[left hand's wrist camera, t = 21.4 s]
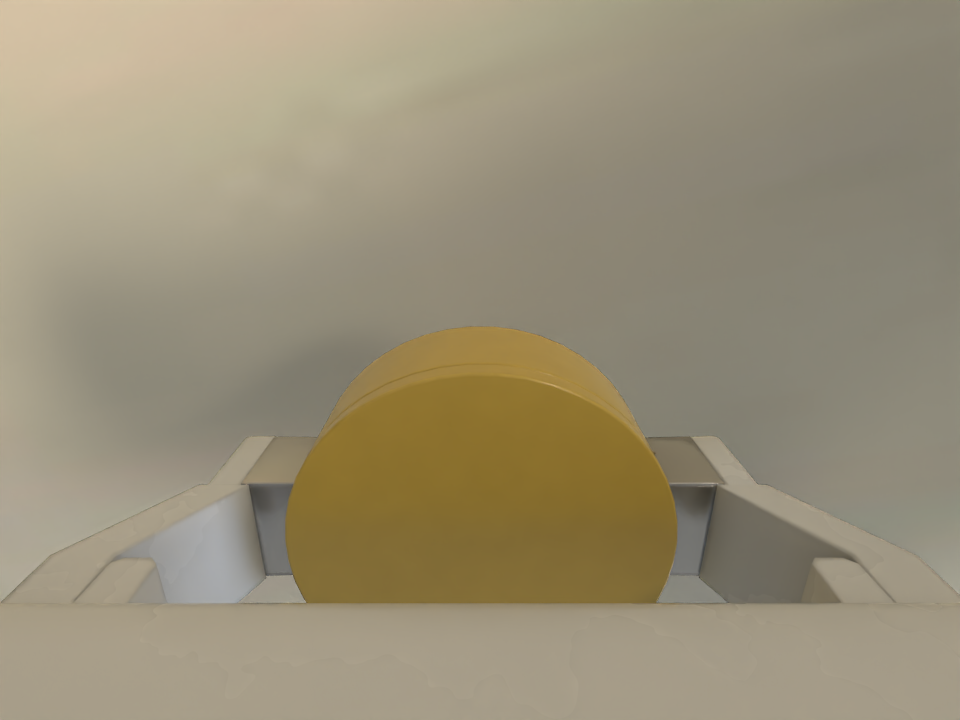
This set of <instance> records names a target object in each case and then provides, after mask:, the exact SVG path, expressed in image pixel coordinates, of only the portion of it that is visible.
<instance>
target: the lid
mask: <svg viewBox="0 0 960 720" xmlns="http://www.w3.org/2000/svg"><path fill="white" fill-rule="evenodd" d="M285 543H286V549H287V555H288V561H289V564H290V567H291V570H292V573H293V576H294V579H295V582H296V584H297V586H298V588H299V590H300V592H301V594H302V596H303V598H304V600H305V601H306V602H307V603H656V602H657V601H658V599H659V597H660V595H661V593H662V591H663V589H664V587H665V585H666V583H667V581H668V578H669V575H670V572H671V569H672V566H673V563H674V558H675V552H676V546H677V515H676V508H675V502H674V498H673V495H672V492H671V489H670V486H669V483H668V480H667V478H666V476H665V474H664V472H663V470H662V468H661V466H660V464H659V462H658V460H657V458H656V457H655V455H654V453H653V451H652V449H651V448H650V446H649V444H648V442H647V440H646V439H645V437H644V435H643V433H642V432H641V430H640V428H639V426H638V424H637V423H636V421H635V419H634V417H633V415H632V414H631V412H630V410H629V408H628V406H627V405H626V403H625V401H624V399H623V398H622V397H621V395H620V394H619V392H618V391H617V390H616V388H615V387H614V386H613V384H612V383H611V382H610V381H609V380H608V379H607V378H606V377H605V376H604V375H603V374H602V373H601V372H600V371H599V370H598V369H597V368H596V367H595V366H594V365H592V364H591V363H590V362H588V361H587V360H586V359H584V358H583V357H582V356H580V355H579V354H577V353H575V352H574V351H572V350H570V349H568V348H567V347H565V346H563V345H561V344H559V343H557V342H554V341H552V340H549V339H547V338H544V337H542V336H539V335H535V334H532V333H528V332H524V331H520V330H516V329H508V328H500V327H462V328H454V329H446V330H442V331H438V332H434V333H430V334H426V335H423V336H421V337H418V338H416V339H413V340H410V341H408V342H405V343H403V344H401V345H399V346H398V347H396V348H394V349H392V350H390V351H389V352H387V353H385V354H383V355H382V356H381V357H379V358H378V359H377V360H375V361H374V362H373V363H371V364H370V365H369V366H367V367H366V368H365V369H364V370H363V371H362V372H361V373H360V374H359V375H358V376H357V377H356V378H355V379H354V380H353V381H352V382H351V383H350V385H349V386H348V387H347V389H346V390H345V391H344V393H343V394H342V395H341V397H340V398H339V400H338V402H337V404H336V405H335V407H334V409H333V411H332V413H331V414H330V416H329V418H328V420H327V422H326V423H325V425H324V427H323V429H322V431H321V432H320V434H319V436H318V438H317V439H316V441H315V443H314V445H313V447H312V448H311V450H310V452H309V454H308V456H307V457H306V459H305V461H304V463H303V465H302V467H301V469H300V470H299V472H298V474H297V476H296V478H295V481H294V484H293V487H292V490H291V493H290V496H289V499H288V505H287V511H286V517H285Z"/></svg>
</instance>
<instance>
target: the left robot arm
mask: <svg viewBox="0 0 960 720" xmlns="http://www.w3.org/2000/svg"><path fill="white" fill-rule="evenodd" d="M317 438H318V437H282V436H279V437H276V436H252V437H246V438H245V440H244V441H243V442H242V443H241V444H240V446H239V447H238V448H237V449H236V451H235V452H234V453H233V454H232V456H231V457H230V458H229V459H228V460H227V462H226V463H225V464H224V465H223V467H222V468H221V469H220V470H219V472H218V473H217V474H216V475H215V476H214V478H213V479H212V480H211V481H210V483H209V484H208V485H197V486H195V487H193V488H191V489H189V490H187V491H185V492H182V493H180V494H178V495H176V496H174V497H172V498H170V499H168V500H166V501H164V502H161V503H159V504H157V505H155V506H153V507H151V508H149V509H147V510H145V511H143V512H140V513H138V514H136V515H134V516H132V517H130V518H128V519H126V520H124V521H121V522H119V523H117V524H115V525H113V526H111V527H109V528H107V529H105V530H103V531H100V532H98V533H96V534H94V535H92V536H90V537H88V538H86V539H84V540H81V541H79V542H77V543H75V544H73V545H71V546H69V547H67V548H65V549H63V550H60V551H58V552H56V553H54V554H52V555H50V556H49V557H48V558H47V559H46V560H45V561H44V562H43V563H42V564H41V565H40V566H38V567H37V568H36V569H35V570H34V571H33V572H32V573H31V574H30V575H29V576H28V577H27V578H26V579H25V580H24V581H23V582H22V583H21V584H19V585H18V586H17V587H16V588H15V589H14V590H13V591H12V592H11V593H10V594H9V595H8V596H7V597H6V598H5V599H4V600H3V601H2V602H1V603H0V720H960V595H959V594H958V593H957V592H956V591H955V590H954V589H953V588H952V587H951V586H950V585H948V584H947V583H946V582H945V581H944V580H943V579H942V578H941V577H940V576H939V575H938V574H937V573H936V572H935V571H934V570H933V569H931V568H930V567H929V566H928V565H927V564H926V563H925V562H924V561H923V560H922V559H921V558H920V557H919V556H917V555H915V554H913V553H911V552H908V551H906V550H904V549H902V548H900V547H898V546H896V545H894V544H891V543H889V542H887V541H885V540H883V539H881V538H879V537H877V536H875V535H872V534H870V533H868V532H866V531H864V530H862V529H860V528H858V527H855V526H853V525H851V524H849V523H847V522H845V521H843V520H841V519H839V518H836V517H834V516H832V515H830V514H828V513H826V512H824V511H822V510H819V509H817V508H815V507H813V506H811V505H809V504H807V503H805V502H803V501H800V500H798V499H796V498H794V497H792V496H790V495H788V494H786V493H783V492H781V491H779V490H777V489H775V488H773V487H771V486H769V485H758V484H757V483H756V482H755V481H754V479H753V478H752V477H751V476H750V475H749V473H748V472H747V471H746V470H745V468H744V467H743V466H742V465H741V464H740V462H739V461H738V460H737V459H736V458H735V456H734V455H733V454H732V453H731V452H730V450H729V449H728V448H727V447H726V446H725V444H724V443H723V442H722V441H721V440H720V438H718V437H715V436H696V437H690V436H689V437H648V438H645V439H646V440H647V442H648V444H649V446H650V448H651V449H652V451H653V453H654V455H655V457H656V458H657V460H658V462H659V464H660V466H661V468H662V470H663V472H664V474H665V476H666V478H667V480H668V483H669V486H670V489H671V492H672V495H673V498H674V502H675V508H676V515H677V546H676V552H675V558H674V563H673V566H672V569H671V572H670V575H696V576H699V578H700V579H701V580H702V581H703V582H705V583H706V584H707V585H708V586H709V587H710V588H712V589H713V590H714V591H715V592H716V593H717V594H719V595H720V596H721V597H722V598H723V599H724V600H726V601H727V602H728V603H238V602H239V601H240V600H241V599H243V598H244V597H245V596H246V595H247V594H248V593H249V592H251V591H252V590H253V589H254V588H255V587H256V586H258V585H259V584H260V583H261V582H262V581H263V580H265V579H266V576H269V575H293V573H292V570H291V567H290V564H289V561H288V555H287V549H286V543H285V517H286V511H287V505H288V499H289V496H290V493H291V490H292V487H293V484H294V481H295V478H296V476H297V474H298V472H299V470H300V469H301V467H302V465H303V463H304V461H305V459H306V457H307V456H308V454H309V452H310V450H311V448H312V447H313V445H314V443H315V441H316V439H317Z"/></svg>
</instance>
